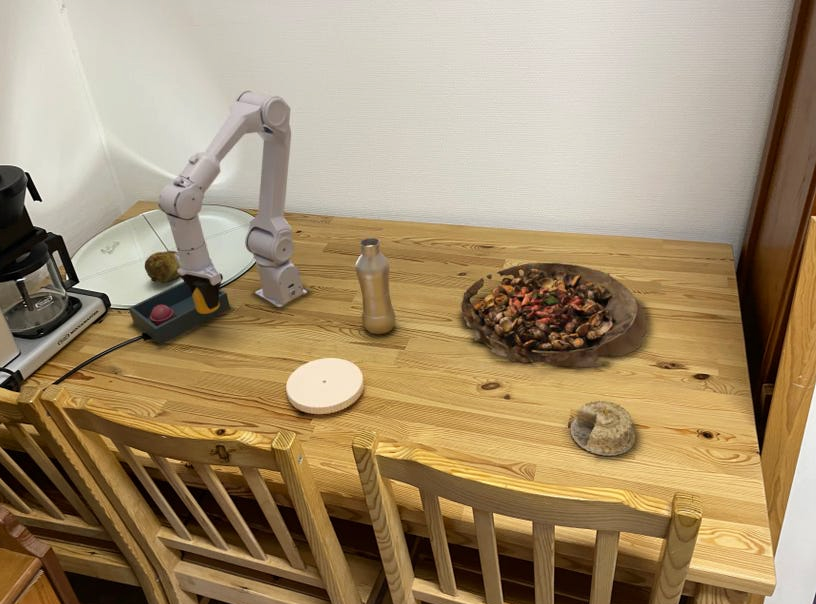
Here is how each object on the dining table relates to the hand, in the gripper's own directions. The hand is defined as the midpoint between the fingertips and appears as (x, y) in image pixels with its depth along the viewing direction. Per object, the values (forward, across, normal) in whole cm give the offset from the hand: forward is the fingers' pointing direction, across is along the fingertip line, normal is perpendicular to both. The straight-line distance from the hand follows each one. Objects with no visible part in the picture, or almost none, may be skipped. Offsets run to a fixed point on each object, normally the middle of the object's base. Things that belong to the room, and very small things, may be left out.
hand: (206, 302), depth 148 cm
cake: (+8, +75, +27) cm, 80 cm away
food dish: (+8, +50, +48) cm, 69 cm away
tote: (+8, -11, -2) cm, 14 cm away
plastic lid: (+8, +33, +4) cm, 34 cm away
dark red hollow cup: (+7, -11, -6) cm, 14 cm away
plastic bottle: (+8, +26, +24) cm, 36 cm away
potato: (+8, -29, +5) cm, 31 cm away
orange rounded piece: (+1, 0, 0) cm, 1 cm away
